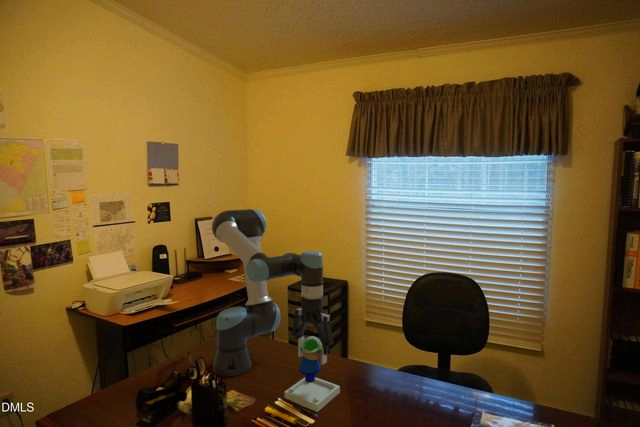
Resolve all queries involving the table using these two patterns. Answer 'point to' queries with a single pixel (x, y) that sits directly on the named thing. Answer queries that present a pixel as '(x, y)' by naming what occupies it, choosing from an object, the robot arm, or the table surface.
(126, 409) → the table surface
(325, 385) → the base plate
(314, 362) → the toy
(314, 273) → the robot arm
